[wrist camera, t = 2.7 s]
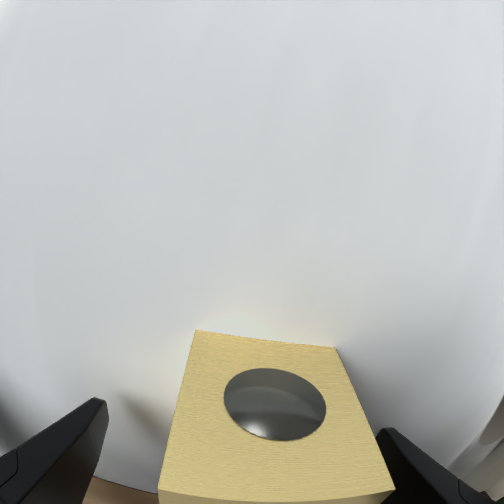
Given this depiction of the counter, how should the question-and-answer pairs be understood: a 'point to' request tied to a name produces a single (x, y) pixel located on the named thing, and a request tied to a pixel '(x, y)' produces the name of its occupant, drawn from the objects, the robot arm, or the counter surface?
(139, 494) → the shaft stand
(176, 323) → the counter surface
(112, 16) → the counter surface
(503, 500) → the bottle
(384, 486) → the block
